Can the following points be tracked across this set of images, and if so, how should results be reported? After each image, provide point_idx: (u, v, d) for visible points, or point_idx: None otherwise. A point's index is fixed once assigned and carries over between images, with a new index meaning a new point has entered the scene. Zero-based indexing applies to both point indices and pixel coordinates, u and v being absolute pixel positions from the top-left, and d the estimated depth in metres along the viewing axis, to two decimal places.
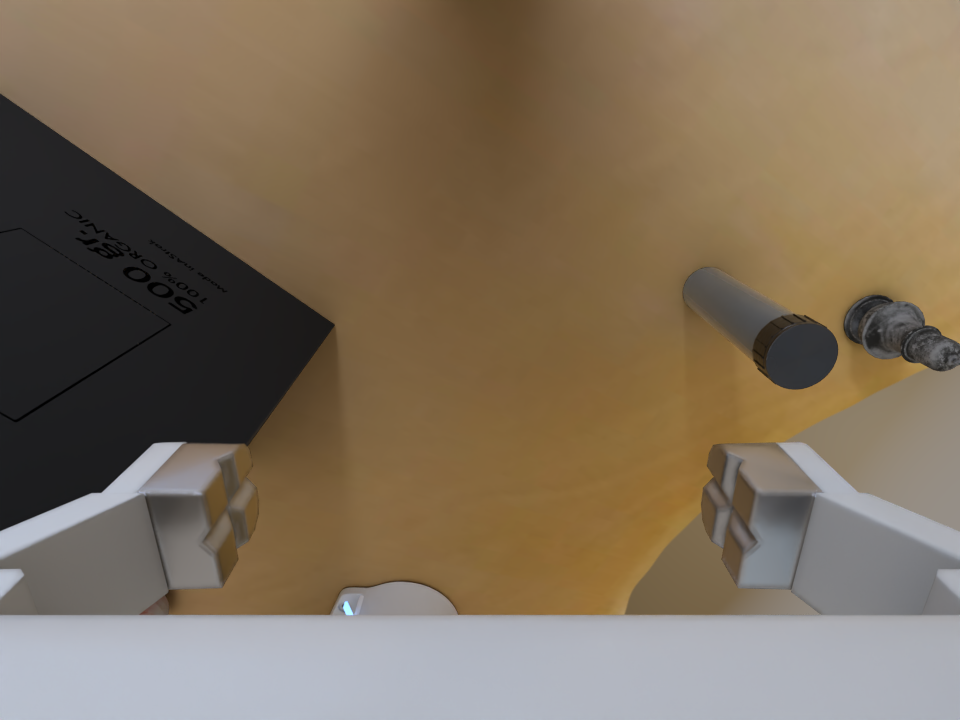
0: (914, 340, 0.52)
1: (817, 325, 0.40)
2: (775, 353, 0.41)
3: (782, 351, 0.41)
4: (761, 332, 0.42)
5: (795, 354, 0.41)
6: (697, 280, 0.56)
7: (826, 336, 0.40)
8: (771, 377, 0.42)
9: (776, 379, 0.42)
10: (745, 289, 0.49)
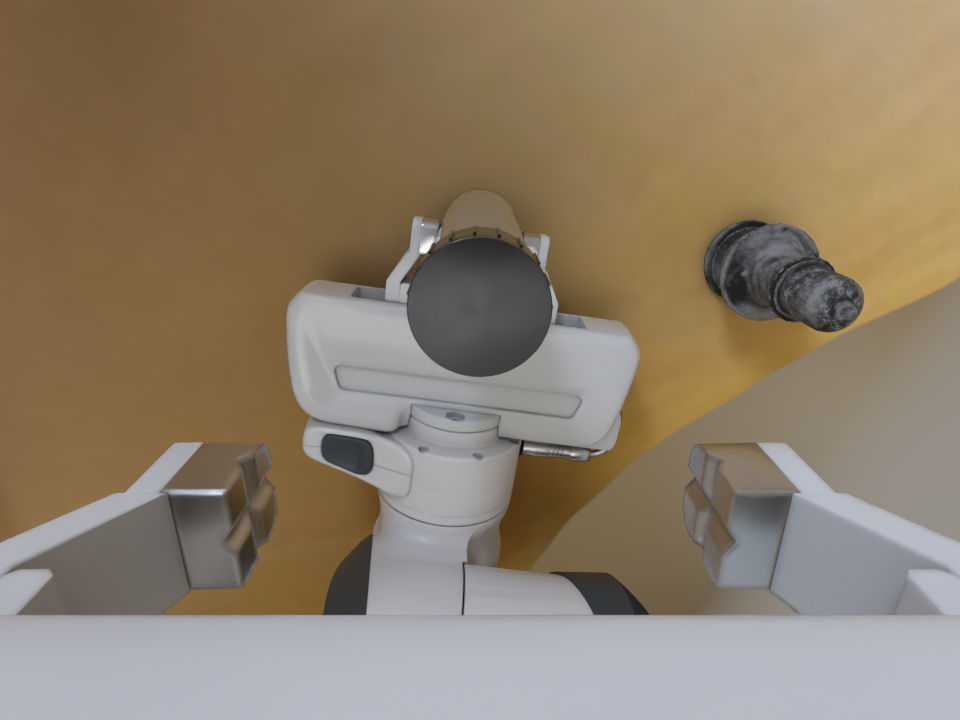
0: (787, 282, 0.30)
1: (493, 240, 0.19)
2: (423, 305, 0.20)
3: (436, 300, 0.20)
4: None
5: (464, 305, 0.20)
6: None
7: (518, 263, 0.19)
8: (429, 355, 0.21)
9: (440, 358, 0.21)
10: (473, 206, 0.28)
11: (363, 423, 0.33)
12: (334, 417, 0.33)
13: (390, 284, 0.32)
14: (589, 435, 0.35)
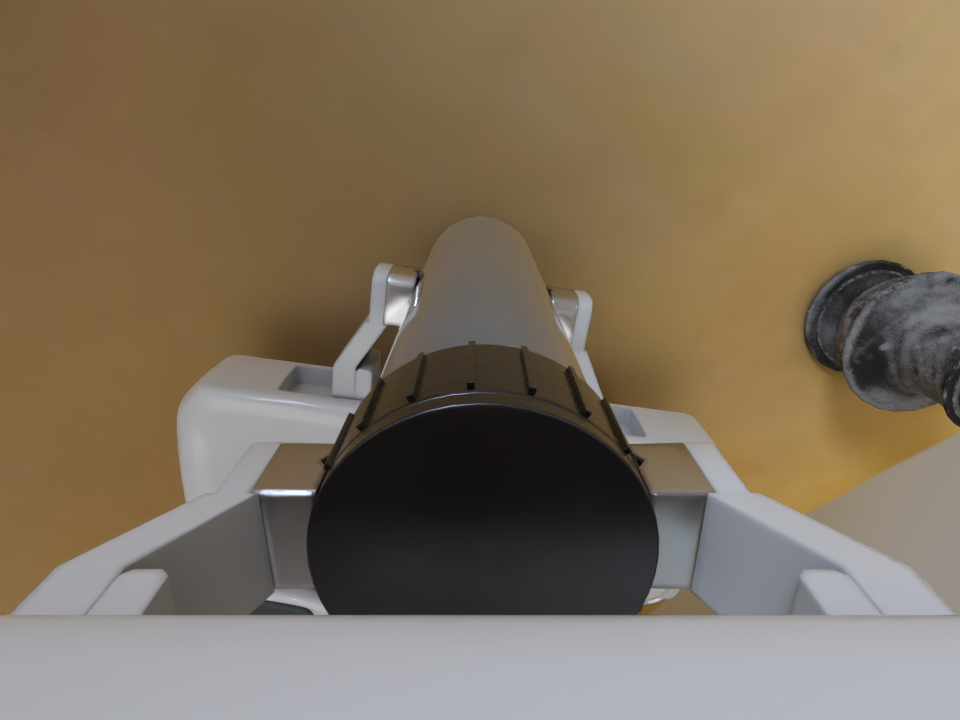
0: None
1: (519, 410, 0.07)
2: (345, 551, 0.08)
3: (376, 541, 0.08)
4: None
5: (447, 551, 0.08)
6: (433, 247, 0.23)
7: (581, 462, 0.08)
8: None
9: None
10: (471, 258, 0.17)
11: None
12: None
13: (340, 371, 0.20)
14: None
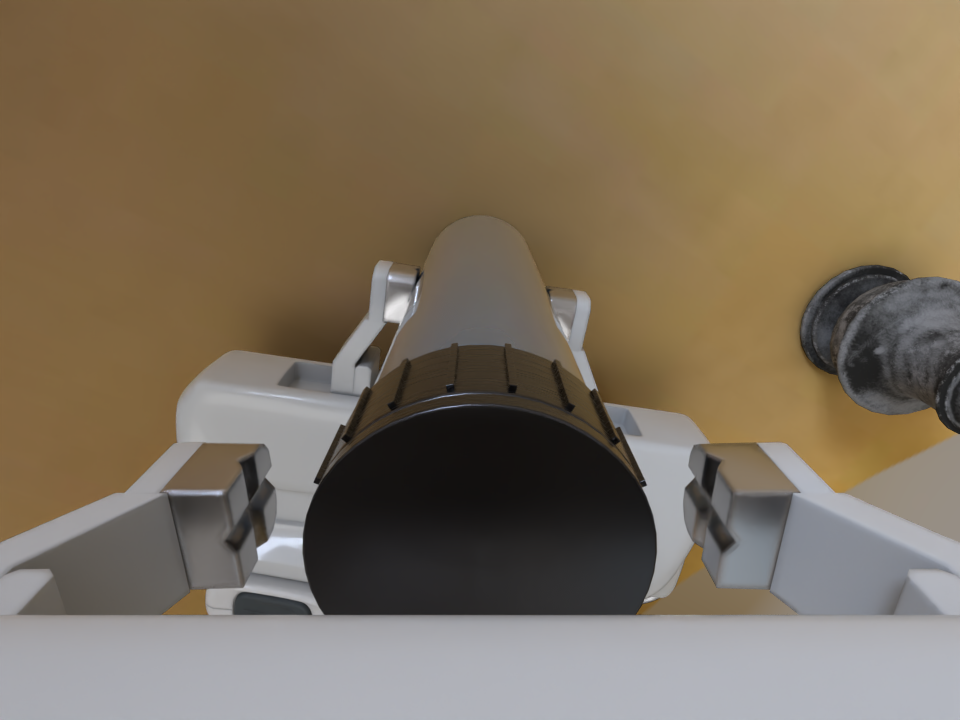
0: None
1: (336, 469, 0.08)
2: None
3: None
4: None
5: (451, 583, 0.08)
6: (433, 245, 0.23)
7: (415, 444, 0.08)
8: None
9: None
10: (471, 256, 0.17)
11: (298, 575, 0.22)
12: None
13: (339, 367, 0.20)
14: None
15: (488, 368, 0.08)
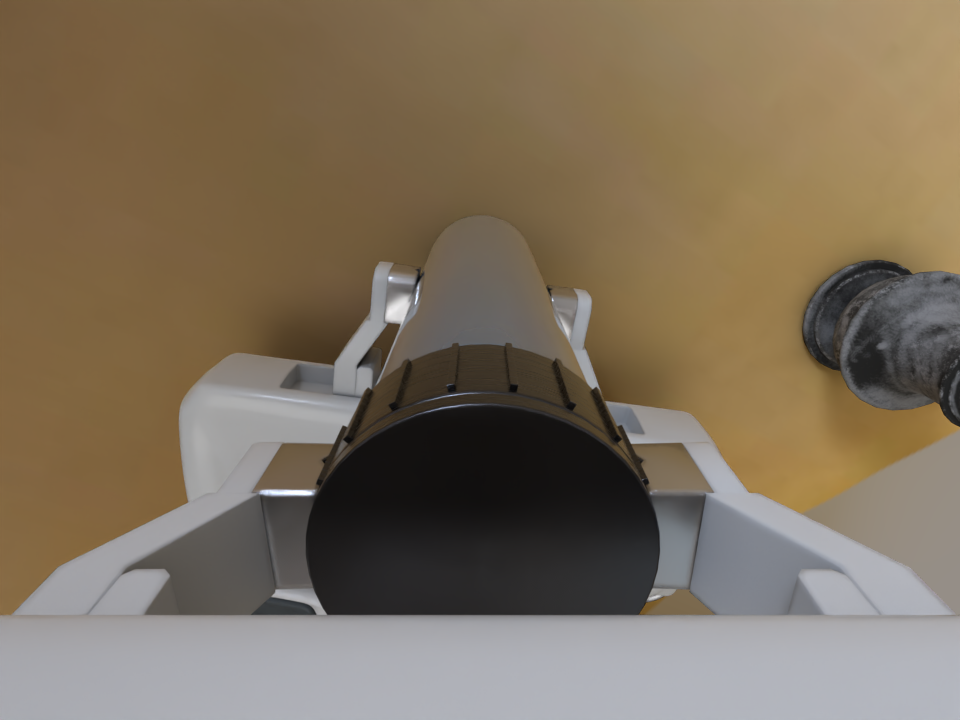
0: None
1: (338, 470, 0.08)
2: None
3: None
4: None
5: (455, 582, 0.08)
6: (433, 246, 0.23)
7: (417, 444, 0.08)
8: None
9: None
10: (471, 256, 0.17)
11: None
12: None
13: (341, 369, 0.20)
14: None
15: (489, 367, 0.08)
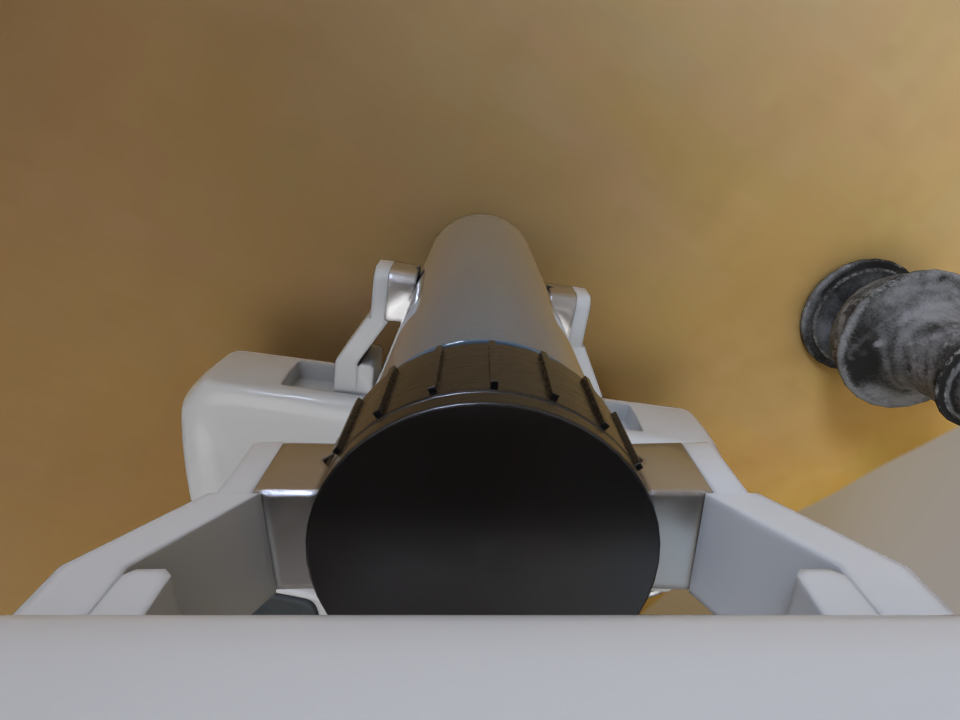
0: None
1: None
2: None
3: None
4: None
5: (492, 590, 0.08)
6: (434, 244, 0.24)
7: (334, 555, 0.08)
8: (646, 589, 0.08)
9: (641, 567, 0.08)
10: (471, 254, 0.17)
11: None
12: None
13: (342, 366, 0.21)
14: None
15: None
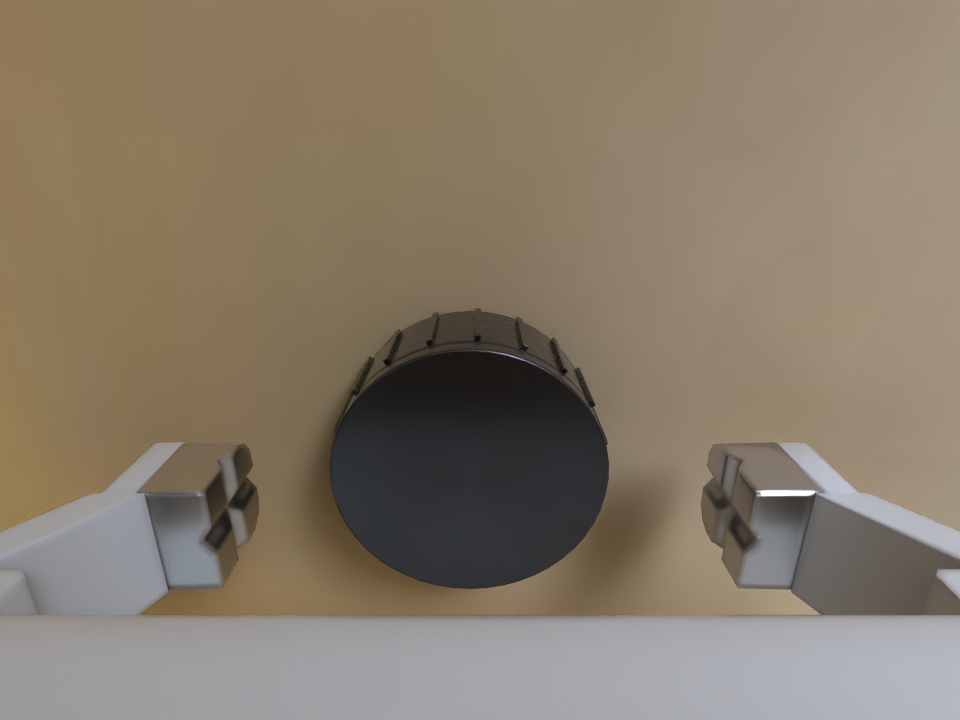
0: None
1: (351, 525, 0.11)
2: (521, 555, 0.11)
3: (500, 544, 0.11)
4: None
5: (477, 503, 0.11)
6: None
7: (353, 474, 0.10)
8: (599, 502, 0.11)
9: (594, 483, 0.10)
10: None
11: None
12: None
13: None
14: None
15: None
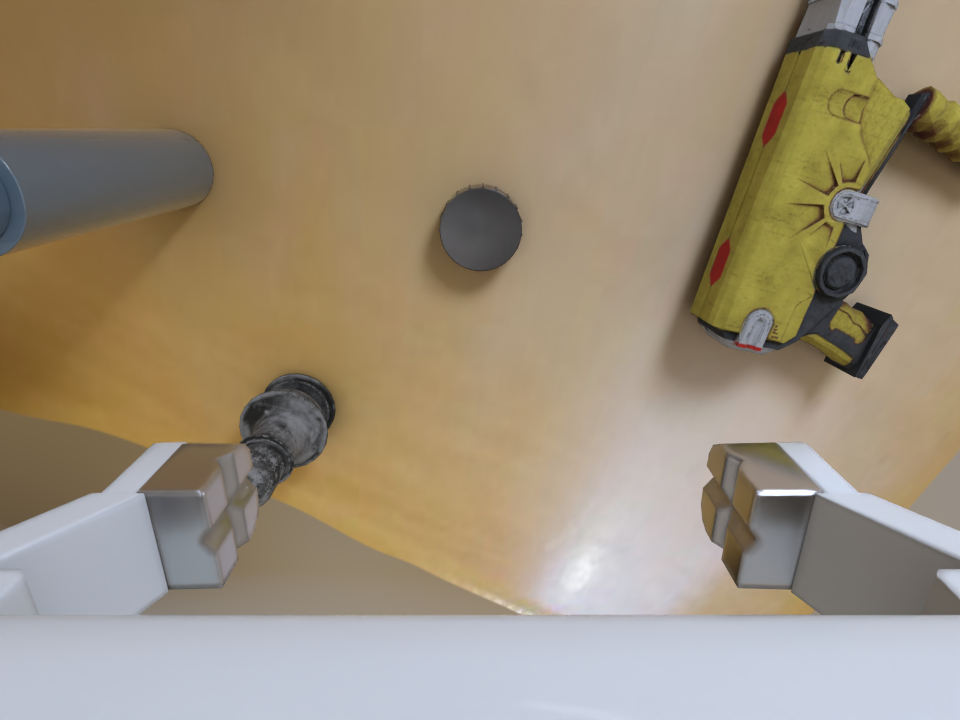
0: (255, 446, 0.34)
1: (444, 247, 0.36)
2: (496, 257, 0.36)
3: (490, 253, 0.36)
4: None
5: (483, 239, 0.36)
6: (157, 129, 0.34)
7: (446, 228, 0.35)
8: (519, 238, 0.36)
9: (517, 231, 0.35)
10: (121, 151, 0.28)
11: None
12: None
13: None
14: None
15: None
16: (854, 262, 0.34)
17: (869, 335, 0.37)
